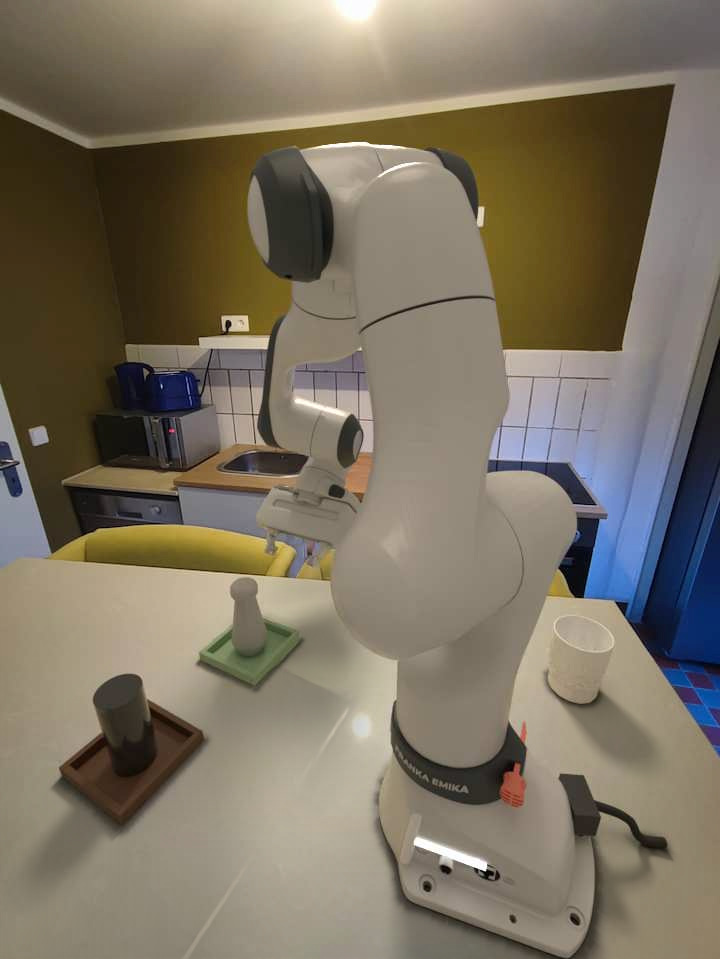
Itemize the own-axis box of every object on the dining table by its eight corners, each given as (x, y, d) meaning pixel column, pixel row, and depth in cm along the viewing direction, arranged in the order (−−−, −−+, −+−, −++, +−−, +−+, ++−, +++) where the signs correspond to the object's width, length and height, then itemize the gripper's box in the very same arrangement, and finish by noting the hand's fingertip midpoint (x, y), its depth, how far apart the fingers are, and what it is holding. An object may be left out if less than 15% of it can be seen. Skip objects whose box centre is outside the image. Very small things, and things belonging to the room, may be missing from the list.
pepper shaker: (167, 748, 55) (152, 683, 51) (130, 785, 51) (110, 716, 47) (140, 731, 57) (124, 667, 53) (103, 765, 53) (82, 698, 49)
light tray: (300, 641, 74) (299, 631, 73) (255, 689, 65) (253, 678, 64) (248, 620, 79) (247, 611, 79) (200, 662, 70) (198, 652, 69)
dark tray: (204, 742, 56) (202, 730, 56) (123, 829, 47) (119, 816, 46) (146, 707, 62) (144, 696, 61) (62, 779, 52) (58, 767, 51)
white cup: (607, 684, 65) (621, 631, 61) (591, 718, 60) (605, 661, 56) (554, 658, 70) (564, 607, 67) (535, 687, 65) (544, 633, 61)
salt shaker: (259, 663, 69) (252, 595, 64) (226, 658, 70) (217, 591, 65) (273, 638, 74) (267, 574, 69) (243, 634, 75) (234, 570, 71)
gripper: (266, 475, 83) (235, 541, 79) (358, 493, 74) (330, 569, 69) (281, 489, 89) (254, 552, 84) (370, 507, 79) (344, 579, 75)
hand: (289, 560), depth 77 cm, fingers open, 8 cm apart
